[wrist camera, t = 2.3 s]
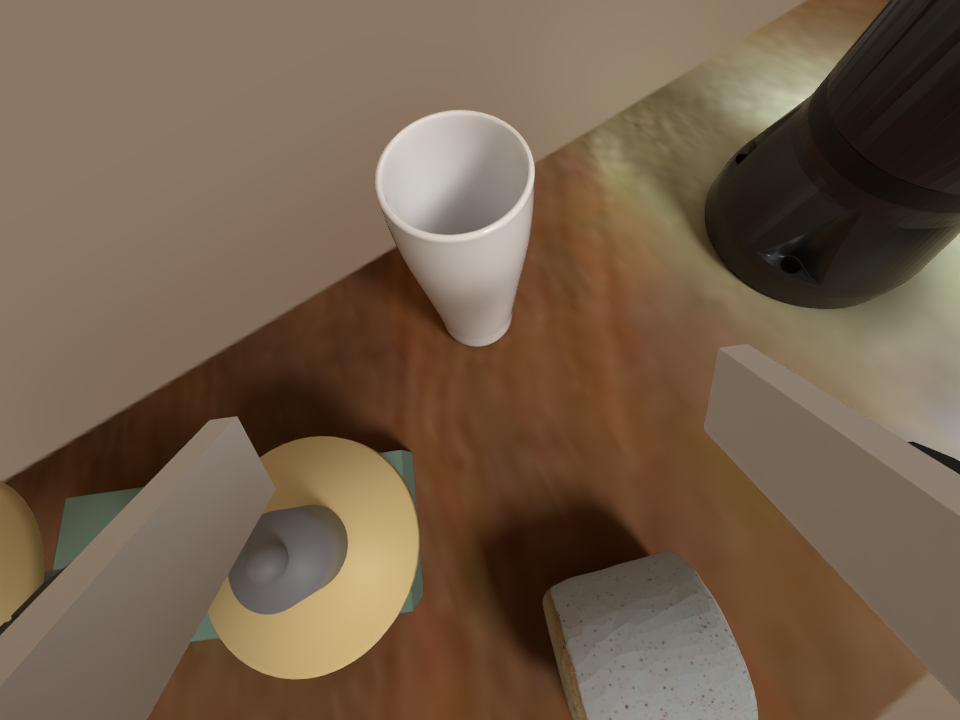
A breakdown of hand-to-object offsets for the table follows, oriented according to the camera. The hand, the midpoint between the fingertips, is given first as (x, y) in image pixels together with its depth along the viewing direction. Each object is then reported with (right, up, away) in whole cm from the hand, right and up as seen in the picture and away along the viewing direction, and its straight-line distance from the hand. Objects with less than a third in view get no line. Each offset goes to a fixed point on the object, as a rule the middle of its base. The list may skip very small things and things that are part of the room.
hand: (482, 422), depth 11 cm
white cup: (0, +5, +19) cm, 20 cm away
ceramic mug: (+9, -16, +12) cm, 22 cm away
